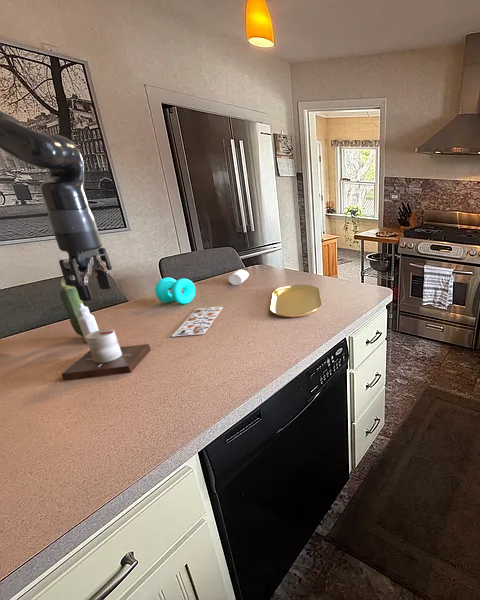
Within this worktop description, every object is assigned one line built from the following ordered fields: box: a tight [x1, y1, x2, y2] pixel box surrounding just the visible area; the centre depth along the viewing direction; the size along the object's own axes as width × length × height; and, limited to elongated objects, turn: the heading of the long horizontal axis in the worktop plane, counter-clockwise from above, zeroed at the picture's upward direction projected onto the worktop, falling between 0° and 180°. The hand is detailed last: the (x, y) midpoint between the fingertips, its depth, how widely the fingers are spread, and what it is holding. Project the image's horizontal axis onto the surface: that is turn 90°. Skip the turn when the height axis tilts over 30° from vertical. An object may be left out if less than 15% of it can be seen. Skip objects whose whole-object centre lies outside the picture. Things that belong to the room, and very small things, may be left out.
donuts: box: [154, 276, 196, 305], centre depth 127 cm, size 10×10×10 cm
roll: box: [228, 269, 250, 286], centre depth 154 cm, size 6×12×6 cm, turn 3°
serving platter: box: [269, 284, 323, 318], centre depth 131 cm, size 19×35×2 cm, turn 17°
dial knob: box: [86, 328, 122, 363], centre depth 85 cm, size 6×6×7 cm
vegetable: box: [59, 276, 84, 338], centre depth 98 cm, size 4×4×20 cm
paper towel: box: [171, 306, 224, 338], centre depth 113 cm, size 24×1×9 cm
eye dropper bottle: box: [77, 303, 100, 343], centre depth 97 cm, size 4×6×12 cm
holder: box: [61, 343, 151, 381], centre depth 86 cm, size 14×12×2 cm
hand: (97, 294), depth 81 cm, fingers open, 8 cm apart
